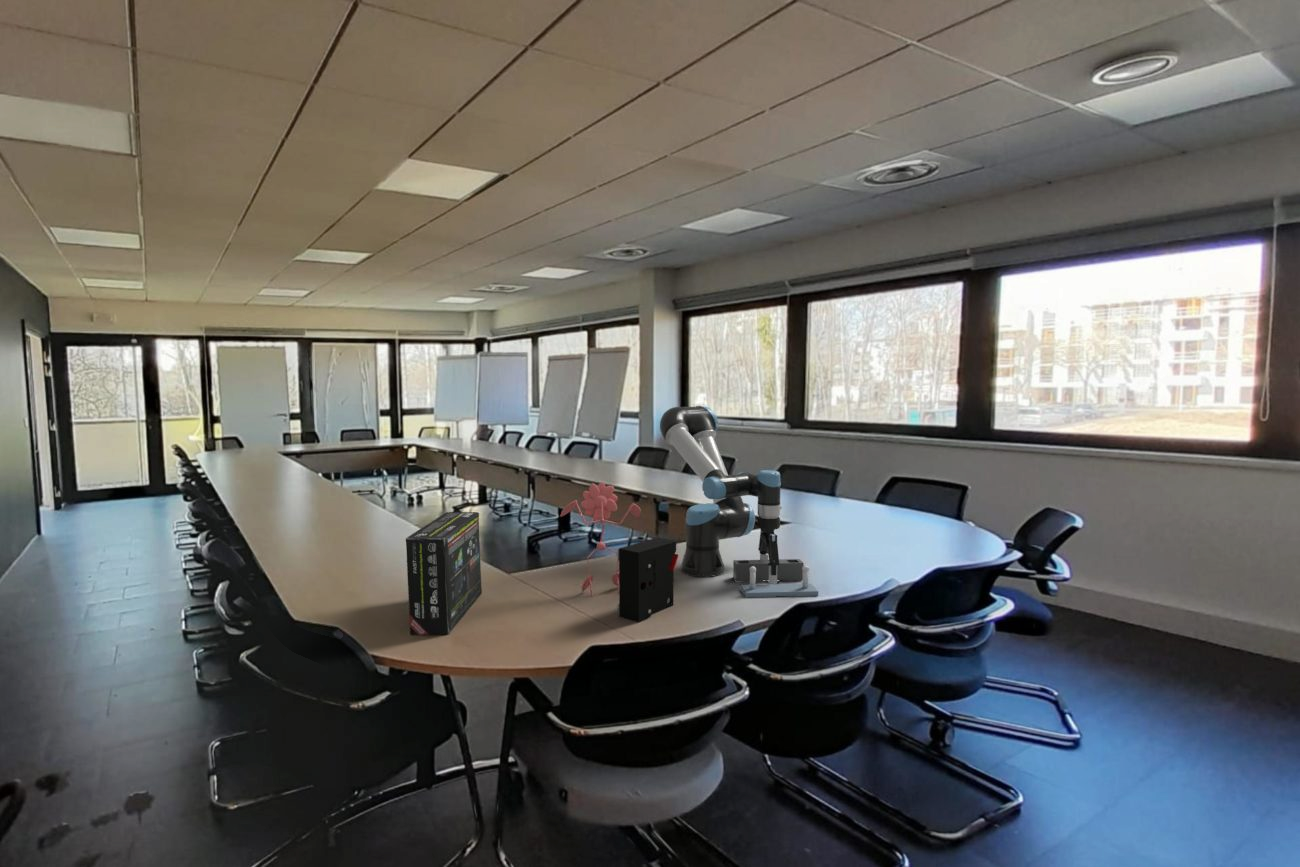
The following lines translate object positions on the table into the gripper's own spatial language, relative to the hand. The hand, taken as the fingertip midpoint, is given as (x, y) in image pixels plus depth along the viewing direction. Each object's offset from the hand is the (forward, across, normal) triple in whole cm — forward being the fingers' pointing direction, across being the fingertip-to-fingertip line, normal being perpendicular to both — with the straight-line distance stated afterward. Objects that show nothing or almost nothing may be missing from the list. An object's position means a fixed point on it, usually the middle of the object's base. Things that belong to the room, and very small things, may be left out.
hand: (768, 578), depth 230 cm
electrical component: (0, -29, +43) cm, 52 cm away
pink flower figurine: (0, -7, +57) cm, 58 cm away
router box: (0, -27, +101) cm, 105 cm away
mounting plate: (0, -15, 0) cm, 15 cm away
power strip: (0, 0, 0) cm, 0 cm away
